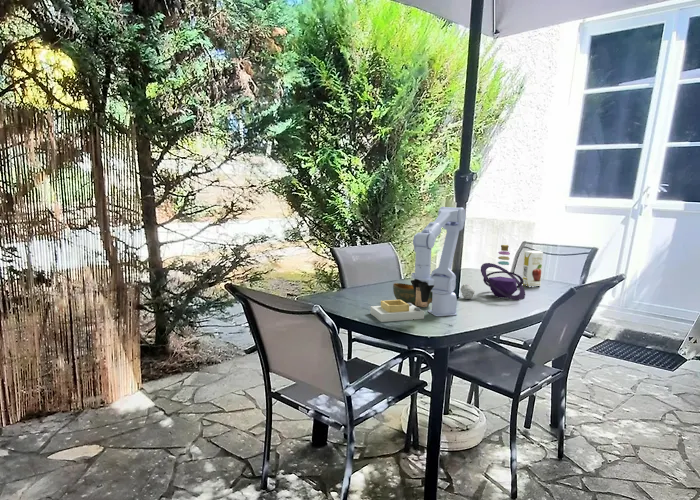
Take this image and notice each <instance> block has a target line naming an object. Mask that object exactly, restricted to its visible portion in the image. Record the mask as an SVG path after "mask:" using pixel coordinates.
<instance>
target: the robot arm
mask: <svg viewBox="0 0 700 500" xmlns="http://www.w3.org/2000/svg"><path fill="white" fill-rule="evenodd" d="M466 219H467V215H466V210H465V208H464V207H455V206H454V207H449V206H440V208H439V209H438V213H437V217H436V218H435V220H434V221H430V222H429V223H428V224H427V225H426V226H425V227H424V228H423V229H422V231H421V232H420V231H419V232H416V233H415V235H414V236H413V240H412V244H413V250H414V253H415V258H414V260H415V262H414V264H415V265H414V272H411V278H412V280H410V283H411V285H413V288H414V293H415V298H416V286H419V287H420V291H421V301H422V302H427V301H428V298H429V295H430V292H433V293H432V303H431V309H427V312H428V313H429V314H432V315H433V316H435V317H445V316H446V317H447V316H458V314H457V302H458V300H457V295H456V293H455V290H456V286H457V284H456V283H457V282H456V281H457V280H456V279H457V276H456V274H455V273H454V272H453V271H452V267H453V262H454V256H455V252H456V248H457V243H458V239H459V234H460V232H461V231H462V230H463V229H464V227H465V221H466ZM442 229H444V230H445V231H446V232H445V237H444V243H443V246H442V251H441V255H440V259H439V264H438V267H437V268H434V270H431V267H432V265H431V264H432V249H433V248H434V246H435V243H436V241H437V238H438V237H439V236H440V234H441V233H442Z"/></svg>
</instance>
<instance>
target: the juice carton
mask: <svg viewBox="0 0 700 500" xmlns="http://www.w3.org/2000/svg"><path fill="white" fill-rule="evenodd" d="M543 258H544V251H540V250H524V254H523V265H522V276H521V278H522V279H523V285H527V286H540V287H541V285H542V273H543ZM523 285H522V286H523Z"/></svg>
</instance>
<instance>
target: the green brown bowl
mask: <svg viewBox="0 0 700 500" xmlns="http://www.w3.org/2000/svg"><path fill="white" fill-rule="evenodd" d="M392 285H393V286H392V290H393V295H394V297H395V300H402V301H404V302H405V303H412V305H414V306H416V305H415V303H416V298H415V293H414V288H413V285H412V284H407V283H403V282H402V283H400V282H394V283H393V284H392ZM432 293H433V292H430V295H429V298H428V301H427V306H426V307H419V306H416V307H418V308H420V309H421V308H424V309H425V308H428V307H429V305H431V304H432Z"/></svg>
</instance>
